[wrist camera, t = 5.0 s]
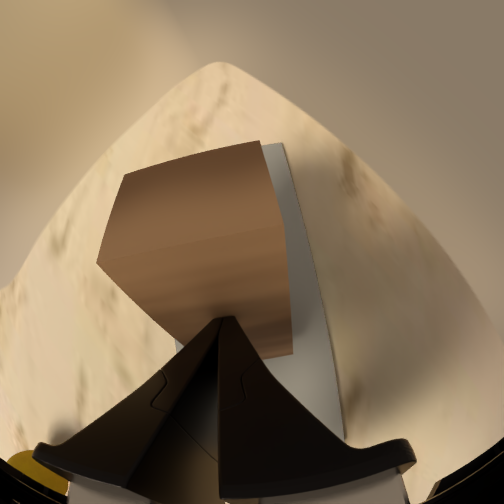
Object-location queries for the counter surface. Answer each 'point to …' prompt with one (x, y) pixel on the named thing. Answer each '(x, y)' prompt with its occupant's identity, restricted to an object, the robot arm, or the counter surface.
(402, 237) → the counter surface
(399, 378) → the counter surface
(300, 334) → the strip
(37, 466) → the lemon
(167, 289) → the walnut block
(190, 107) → the counter surface
